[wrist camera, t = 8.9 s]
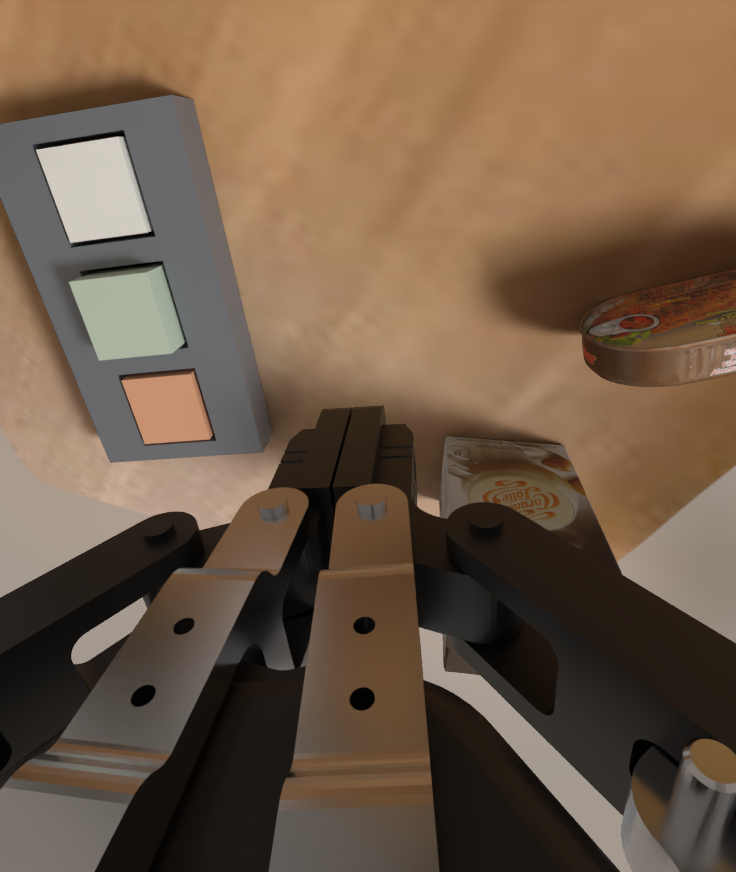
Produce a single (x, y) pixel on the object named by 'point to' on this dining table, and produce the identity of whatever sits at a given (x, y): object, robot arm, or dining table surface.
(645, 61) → the dining table surface
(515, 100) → the dining table surface
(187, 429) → the terracotta button
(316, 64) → the dining table surface
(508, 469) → the coffee box
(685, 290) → the tin
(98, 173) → the offwhite button
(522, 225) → the dining table surface
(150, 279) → the sage button
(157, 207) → the button panel
